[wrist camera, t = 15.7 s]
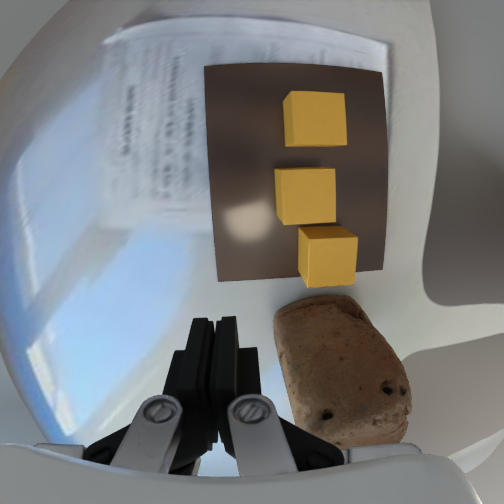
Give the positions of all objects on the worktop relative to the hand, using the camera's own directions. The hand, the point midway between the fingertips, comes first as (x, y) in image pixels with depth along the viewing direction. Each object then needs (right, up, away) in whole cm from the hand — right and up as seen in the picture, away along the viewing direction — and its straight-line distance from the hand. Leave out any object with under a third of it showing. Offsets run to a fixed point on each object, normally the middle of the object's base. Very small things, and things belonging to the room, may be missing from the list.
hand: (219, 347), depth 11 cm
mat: (+7, +13, +19) cm, 24 cm away
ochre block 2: (+6, +10, +19) cm, 23 cm away
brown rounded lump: (+9, -4, +25) cm, 27 cm away
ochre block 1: (+7, +17, +17) cm, 25 cm away
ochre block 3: (+9, +4, +21) cm, 23 cm away
